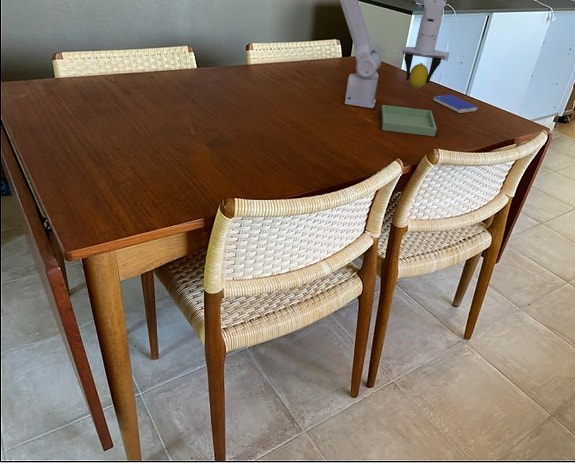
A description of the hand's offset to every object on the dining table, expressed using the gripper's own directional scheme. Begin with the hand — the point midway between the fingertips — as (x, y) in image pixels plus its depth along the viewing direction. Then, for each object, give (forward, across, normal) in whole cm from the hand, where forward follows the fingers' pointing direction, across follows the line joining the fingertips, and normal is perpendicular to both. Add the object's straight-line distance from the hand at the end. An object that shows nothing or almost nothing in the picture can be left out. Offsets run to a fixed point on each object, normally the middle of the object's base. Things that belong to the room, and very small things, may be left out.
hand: (417, 80), depth 145 cm
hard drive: (+10, +14, +14) cm, 22 cm away
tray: (+10, 0, -11) cm, 15 cm away
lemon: (+3, 0, 0) cm, 3 cm away
